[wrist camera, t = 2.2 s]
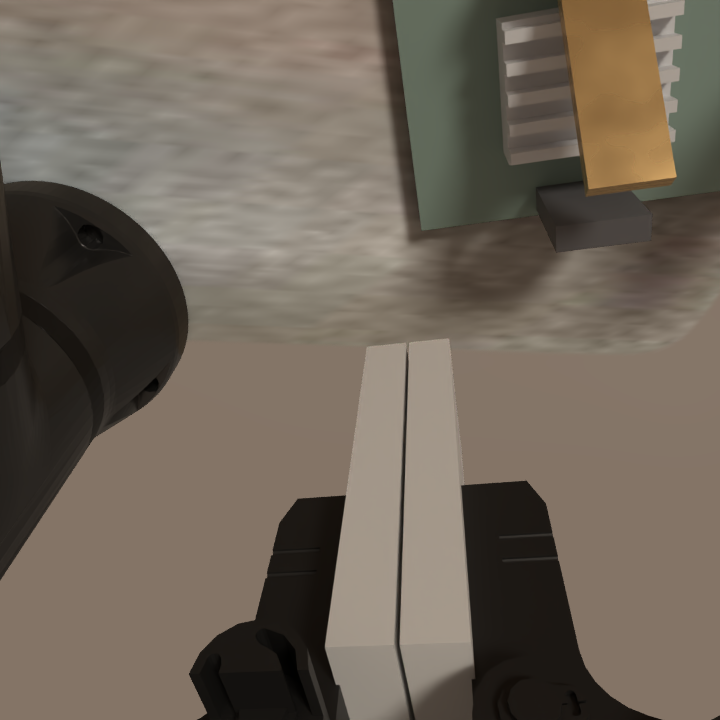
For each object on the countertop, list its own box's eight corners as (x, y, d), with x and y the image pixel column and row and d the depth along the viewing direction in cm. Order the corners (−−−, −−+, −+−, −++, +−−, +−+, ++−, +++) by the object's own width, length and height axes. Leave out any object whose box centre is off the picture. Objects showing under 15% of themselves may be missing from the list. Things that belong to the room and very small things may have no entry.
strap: (570, 200, 25) (575, 189, 24) (539, -26, 26) (542, -45, 25) (684, 184, 24) (692, 173, 23) (645, -46, 26) (651, -66, 25)
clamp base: (421, 223, 37) (422, 275, 31) (385, -65, 30) (377, -70, 24) (732, 181, 34) (799, 228, 28) (770, -142, 27) (868, -169, 21)
